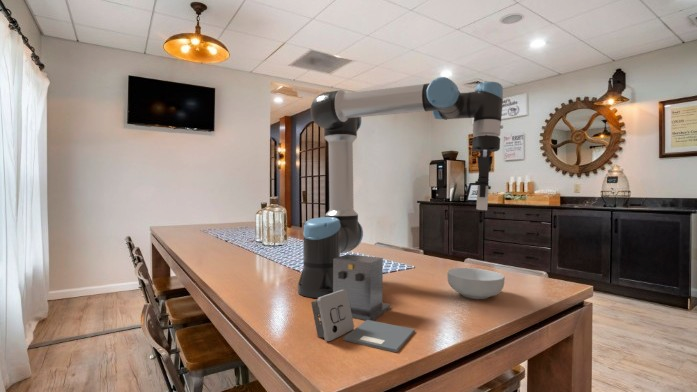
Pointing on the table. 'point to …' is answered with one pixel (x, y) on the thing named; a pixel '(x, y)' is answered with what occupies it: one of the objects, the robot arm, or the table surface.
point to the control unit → (361, 284)
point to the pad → (380, 335)
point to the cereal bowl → (475, 282)
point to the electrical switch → (332, 315)
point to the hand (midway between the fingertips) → (482, 210)
